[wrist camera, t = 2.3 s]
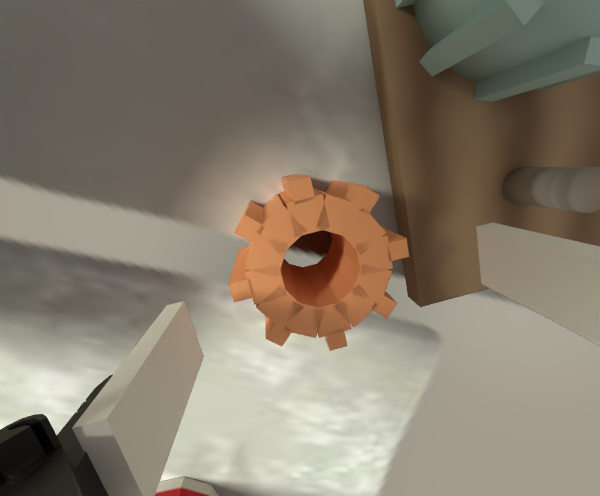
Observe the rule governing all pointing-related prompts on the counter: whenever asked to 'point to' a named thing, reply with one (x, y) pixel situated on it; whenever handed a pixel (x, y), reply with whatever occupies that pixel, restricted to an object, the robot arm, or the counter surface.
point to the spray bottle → (185, 488)
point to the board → (477, 158)
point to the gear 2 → (510, 42)
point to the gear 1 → (328, 272)
